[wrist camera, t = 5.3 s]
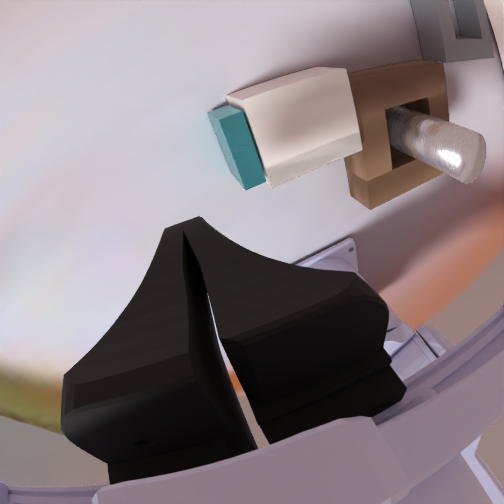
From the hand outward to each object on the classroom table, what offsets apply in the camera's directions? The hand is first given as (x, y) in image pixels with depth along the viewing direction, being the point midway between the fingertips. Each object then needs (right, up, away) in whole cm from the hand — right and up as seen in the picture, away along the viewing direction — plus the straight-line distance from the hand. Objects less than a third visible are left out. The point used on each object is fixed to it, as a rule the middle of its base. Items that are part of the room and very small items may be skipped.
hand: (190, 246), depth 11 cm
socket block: (+12, +9, +9) cm, 18 cm away
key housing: (+4, +8, +7) cm, 11 cm away
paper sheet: (+37, +30, +6) cm, 48 cm away
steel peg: (+12, +9, +9) cm, 18 cm away
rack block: (+18, +19, +5) cm, 27 cm away
